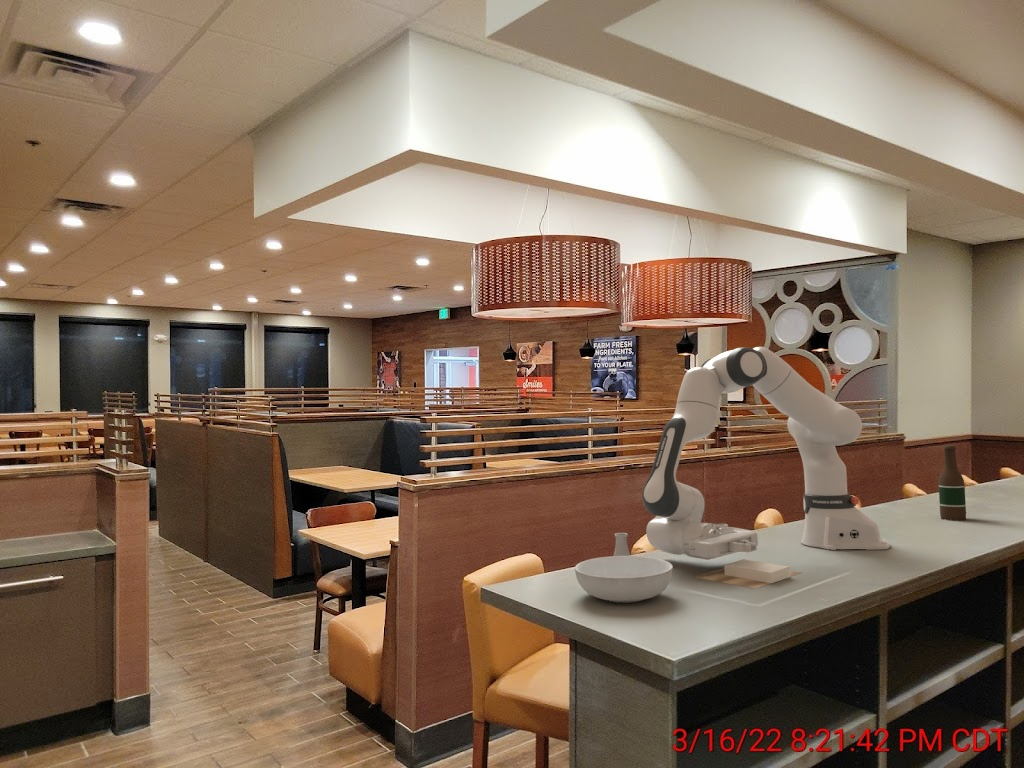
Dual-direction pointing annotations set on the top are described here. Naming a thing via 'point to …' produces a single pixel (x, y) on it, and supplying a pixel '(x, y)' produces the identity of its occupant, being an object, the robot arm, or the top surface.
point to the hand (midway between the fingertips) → (753, 547)
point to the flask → (621, 545)
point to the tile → (757, 571)
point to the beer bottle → (951, 488)
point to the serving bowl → (624, 577)
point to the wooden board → (735, 579)
